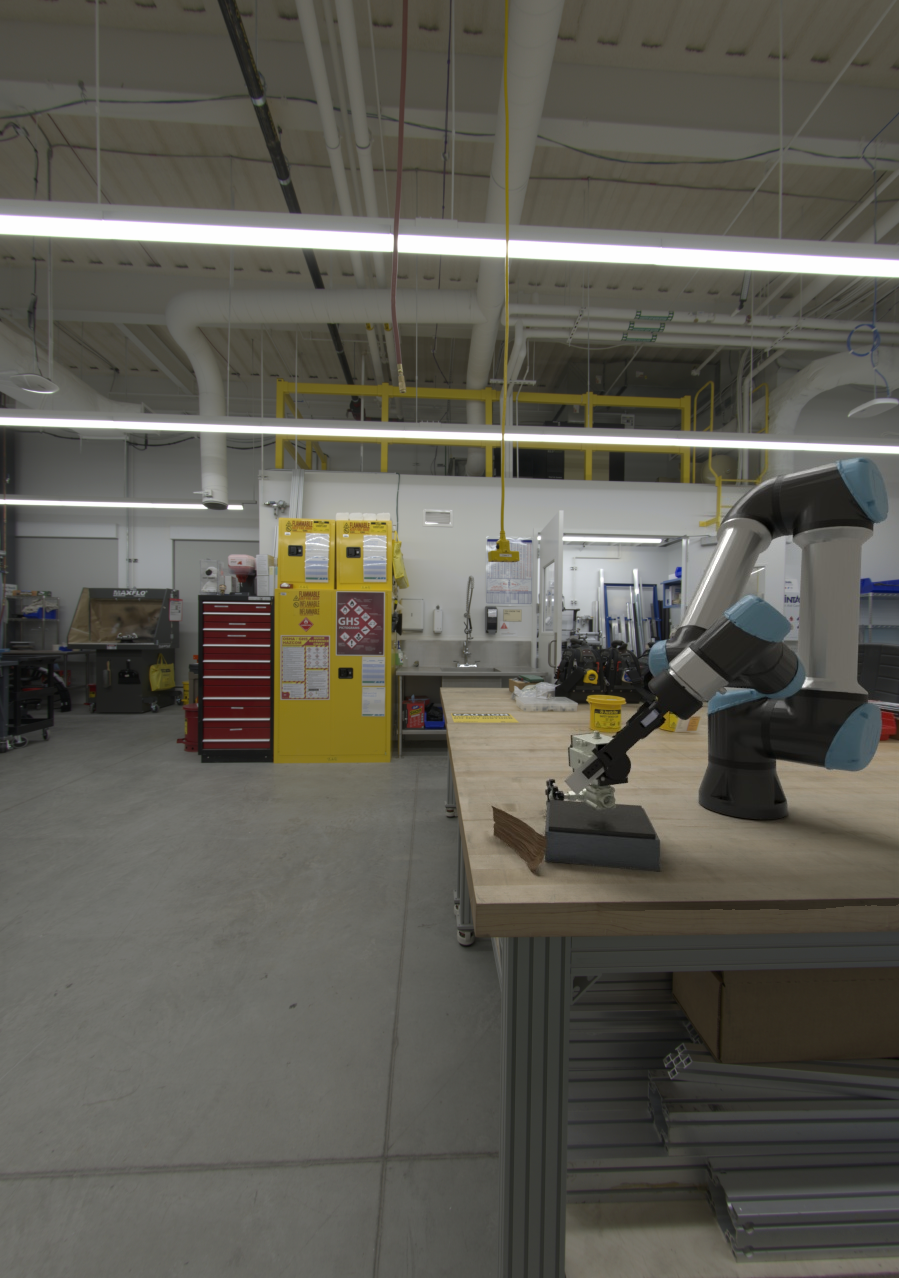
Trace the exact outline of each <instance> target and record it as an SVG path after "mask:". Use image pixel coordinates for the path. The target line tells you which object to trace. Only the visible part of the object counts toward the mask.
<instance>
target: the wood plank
mask: <svg viewBox="0 0 899 1278" xmlns="http://www.w3.org/2000/svg"><path fill="white" fill-rule="evenodd" d="M491 808H492V818H493V819H492V820H493V822H494V824H493V827H492V828H493V836H495V837H496V838H498V840H501V841H502V842H503V843H505V844H506V845H507V846H508V847H510V848H511V849H513V850H514V851H515V852H517V854H518V855H519V856H520V858H522V859H523V860H524V861H525V863H527V864H526V865H527V866H528V868H529V870H530V871H531V872H533V873H534V874H535V875H536V874H537V868H538V867H539V866H540V865H541V864H543V861H544V858H545V851H546V849H547V847H546V846H547V838H546V837H545V835H542V834H541V833H539V832H537V831H536V830H535V829H534V828H533V827H531V825H529V824H527V823H526V822H525V821H523V820H521V819H520V818H518V817H517V816H514V815H513V814H510V813H508V812H506V810H502V809H500V808H498V807H495V806H493V805H491Z"/></svg>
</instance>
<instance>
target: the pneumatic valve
mask: <svg viewBox="0 0 899 1278" xmlns="http://www.w3.org/2000/svg"><path fill="white" fill-rule="evenodd" d="M612 739H613V738H612V736H608V735H605V734H601V733H600V731H599V730H593V732H587V733H579V734H578V733H577V734H570V745H569V747H567V754H568V755H567V756H568V757H567V758H568V759H567V760H568V767H570V768H572V773H573V772H575V771H576V770H577V769H578V768H579V767H580V766H581V765H582V764H584V763H585V762H586V761H587V760H588V759H589V758H590V757H591V756H593V755H594V753H593V752H592V750H593V749H594V748H596V749H597V750H601V749H602V748H603V747H604V746H605V745H606V744H608V743H609V742H610V741H611V740H612ZM605 753H606V754H607V755H608V756H609V757H610V758H611V759H612V757H611V756H610V755H609V754H608V753H607V752H605ZM603 767H604V772H603V773H602V774H601V775H600V776H598V777H597V778H596V779H595V780H594V781H593V783H594V784H592V785H591V783H590V784H589V785H588V786H587V787H586V788H585V789H586V795H587V800H586V804H587V805H588V806H590V807H591V808H593V809H595V810H596V811H601V809H609V808H611V809H615V808H616V804H617V803H616V802H617V801H616V796H615V792H616V789H615V787H613V786H615V785H622V784H628V783H629V775H630V773H631V769H632V762H631V758H630V756H629V755H628V754H627V752H626V753H625V754H623V755H622V756H621V757H620V758H619V759H618V760H617V761H616V762H615V763H613V766H612V767H610V768H608V769H607V767H606V766H603Z"/></svg>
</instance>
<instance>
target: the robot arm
mask: <svg viewBox="0 0 899 1278" xmlns="http://www.w3.org/2000/svg"><path fill="white" fill-rule="evenodd" d="M883 478H884V477H883V476H882V474H881V471H880V468H879V467H878V465H877V464H876V463H875V462H874V460H872V459H871V458H869V457H865V456H860V457H853V458H849V459H845V460H844V459H843V460H841V459H840V460H839V459H838V460H836V461H835V462H831V463H826V464H823V465H818V466H814V467H810V468H805V469H801V470H797V471H793V472H789V473H785V474H779V475H775V476H772V477H769V478H767V479H765V480H763V481H761V482H759V483H758V484H757V485H755V486H753V487H752V488H751V489H749V490H748V491H746V492H745V493H744V494H743V495H742V496H741V497H740V498H739V499H738V500H737V501H736V502H735V503H734V504H733V505H732V507H731V508H730V509H729V510H728V511H727V512H726V514H725V516H724V518H723V519H722V520H721V523H720V524H719V526H718V528H717V531H716V540H717V544H716V546H715V548H714V550H713V551H712V554H711V557H710V558H709V560H708V563H707V565H706V567H705V570H704V571H703V574H702V575H701V578H700V579H699V582H698V584H697V586H696V588H695V591H694V593H693V595H692V597H691V599H690V601H689V604H688V606H687V608H686V610H685V612H684V614H683V616H682V618H681V620H680V622H679V625H678V627H677V629H676V630H675V632H674V634H673V637H672V638H671V639H664V640H658V641H657V642H655V643H654V644H653V645H652V646H651V648H650V649H649V650H650V651H649V654H648V667H649V671H650V673H651V674H652V676H653V678H651V680H649V682H648V684H647V685H648V689H649V690H650V692H651V693H652V694H653V695H654V696H655V697H656V698H654V699H653V700H651V702H649V701H648V700H646V701H644V703H643V704H641V706H639V707H638V708H637V709H636V712H635V713H634V714H633V715H632V716H631V717H629V719H628V720H626V722H625V724H626V725H624V726H623V727H622V728H621V729H620V730H619V731H616V733H615V735H612V736H611V737H612V738H613V739H612V740H611V741H610V742H609V743H608V744H606V745H605V746H604V747H603V748H602V749H601V750H597V749H596V748H594V749H593V750H592V752H593V753H594V755H593V756H591V757H590V758H589V759H588V760H587V761H586V762H585V763H584V764H582V765H581V766H580V767H579V768H578V769H577V770H576V771H575V772H573V771H572V773H571V774H570V775H569V776H568V777H567V778H566V779H564V780H563V782H564V783H565V784H566V785H567V786H568V787H569V789H570V791H573V792H574V793H575V794H576V795H578V794H579V793H580V792H581V791H582V790H583V789H585V788H586V787H587V786H588V785H589V784H590V785H591V782H593V781H594V780H595V779H596V778H597V777H598V776H600V775H601V774H602V773H603V772H604V767H603V766H606V767H607V769H608V768H610V767H612V766H613V763H615V762H616V761H617V760H618V759H619V758H620V757H621V756H622V755H623V754H625V753H626V754H627V753H628V751H629V750H631V748H633V747H634V746H635V745H636V744H637V743H638V742H639V741H641V740H645V739H646V738H647V737H648V736H649V735H651V733H653V732H654V731H655V730H658V729H659V728H661V727H662V726H663V725H664V724H665V723H666V721H667V719H666V717H665V715H667V713H669V712H671V713H673V714H674V716H676V718H679V719H680V720H683V721H687V720H689V719H690V718H692V716H694V714H696V713H697V712H698V711H699V710H701V709H703V707H704V706H703V705H704V702H703V701H708V702H707V703H708V704H707V712H706V716H707V766H706V768H705V772H704V775H703V777H702V780H701V782H700V784H699V785H700V786H699V788H698V803H699V804H700V805H701V806H702V807H703V808H706V809H708V810H710V811H713V812H715V813H719V814H723V815H726V816H731V817H735V818H743V819H749V820H751V819H752V820H777V819H782V818H785V817H786V816H788V813H789V812H788V799H787V798H786V797H787V796H786V794H785V791H784V789H783V786H782V784H781V783H782V782H781V781H780V778H779V775H778V772H777V760H778V761H783V762H788V763H790V762H791V763H793V764H800V765H806V766H811V767H818V768H824V769H826V770H828V771H831V770H832V771H833V770H837V771H844V772H854V773H856V772H859V771H862V770H864V769H865V768H866V767H868V766H869V764H870V763H871V762H872V761H873V758H874V757H875V755H876V753H877V750H878V747H879V743H880V739H881V735H882V728H883V719H882V710H881V708H880V707H879V706H878V705H877V704H874V703H873V702H869V692H868V691H867V690H866V689H865V688H864V687H863V686H862V685H861V684H859V681H858V662H859V661H858V660H859V658H858V657H859V635H860V634H859V633H860V632H859V630H860V607H861V606H860V604H861V603H860V601H861V578H862V577H861V576H862V575H861V573H862V571H861V570H862V546H863V544H865V543H867V541H869V540H870V539H871V538H873V536H874V525H875V524H876V525H877V524H880V523H881V522H884V521H886V520H887V518H888V514H889V499H888V494H887V488H886V485H885V482H884V479H883ZM789 536H792V542H793V543H794V544H795V545H797V547H799V548H800V549H801V562H800V563H801V565H800V583H799V584H800V589H799V610H798V611H799V613H798V635H797V636H798V638H797V653H796V652H795V651H794V650H793V649H790V648H789V646H787V645H786V644H785V642H783V640H784V639H785V637H786V636H788V635H789V633H790V632H791V630H792V624H791V622H790V620H789V619H787V617H786V616H785V615H783V613H782V612H780V611H779V610H778V609H776V608H775V607H774V606H773V605H772V604H770V603H769V602H767V601H766V600H765V599H763V598H762V597H760V596H758V595H756V594H748V595H745V596H743V593H744V591H745V589H746V586H747V584H748V582H749V580H750V578H751V575H752V572H753V571H754V568H755V566H756V563H757V561H758V558H759V556H760V554H762V553H764V552H766V550H768V548H770V545H771V544H772V541H773V540H775V539H778V538H781V537H789ZM742 596H743V597H742ZM726 688H731V690H728V689H726ZM732 688H734V689H732ZM605 752H607V753H608V754H609V755H610V756H611V757H612V759H611V758H610V757H609V756H608V755H607V754H606V753H605Z"/></svg>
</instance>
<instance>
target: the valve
mask: <svg viewBox="0 0 899 1278" xmlns="http://www.w3.org/2000/svg"><path fill="white" fill-rule="evenodd" d="M545 784H546V787H547V788H546V789H545V790H544V794H545V796H546V799H547V800H546V801H545V805H546V807H547V802H550V800H560V801H565V800H567V801H576V802H586V800H587V795H586V789H583V790H582V791H581V792H580V793H579V794H578V795H576V794H575V793H574V792H573V791H572V790H568V791H567V792H566V793H564V791H563V790H560V789H559V786H558V785H554V784H556V779H555V778H549V779H548V780H546V781H545ZM592 784H594V783H593V782H591V783H590V785H592Z"/></svg>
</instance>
